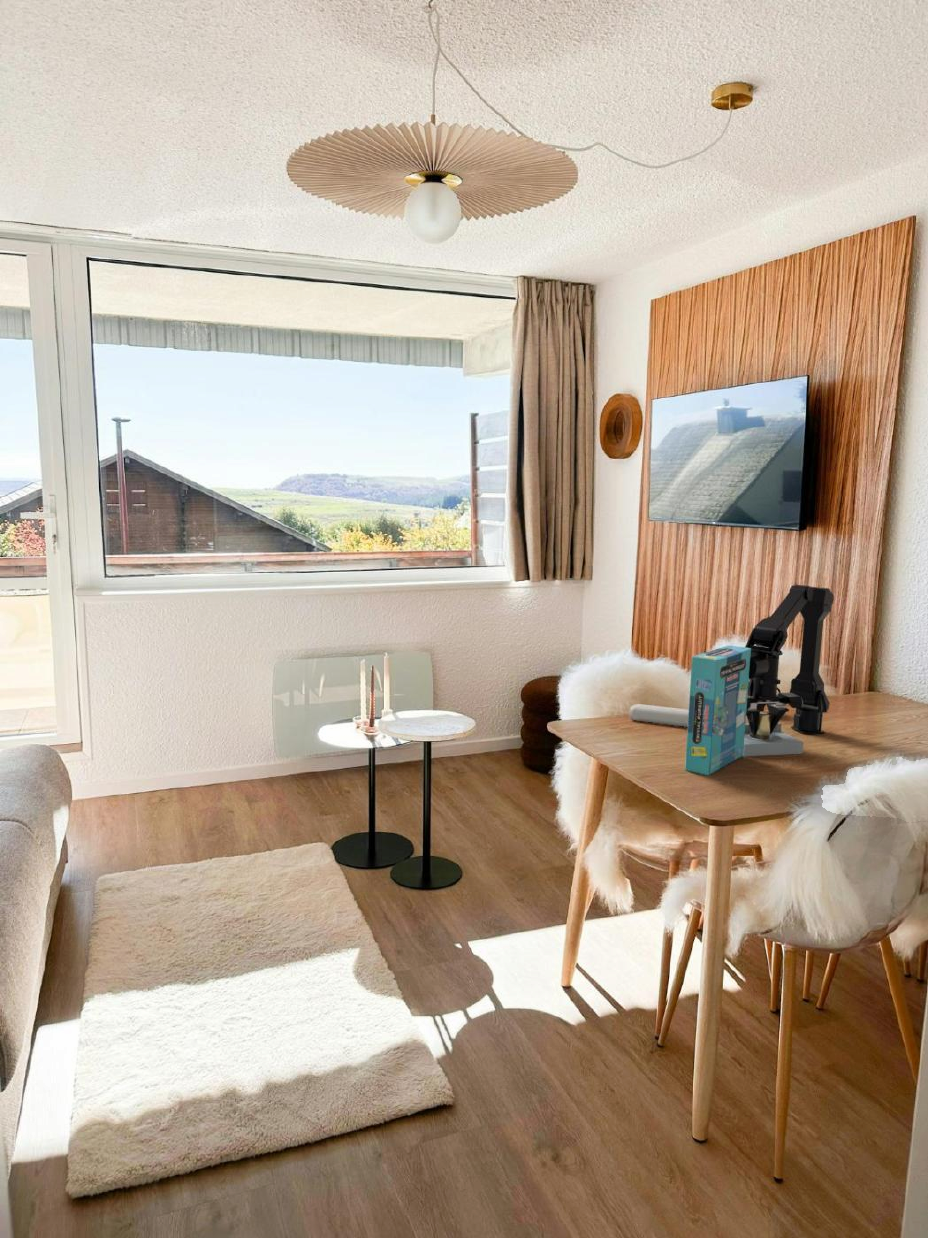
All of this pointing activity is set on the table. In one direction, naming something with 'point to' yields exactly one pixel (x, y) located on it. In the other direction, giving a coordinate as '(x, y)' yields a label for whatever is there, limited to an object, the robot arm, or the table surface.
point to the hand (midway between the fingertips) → (761, 734)
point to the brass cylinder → (763, 726)
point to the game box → (717, 708)
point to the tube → (659, 714)
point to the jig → (771, 743)
